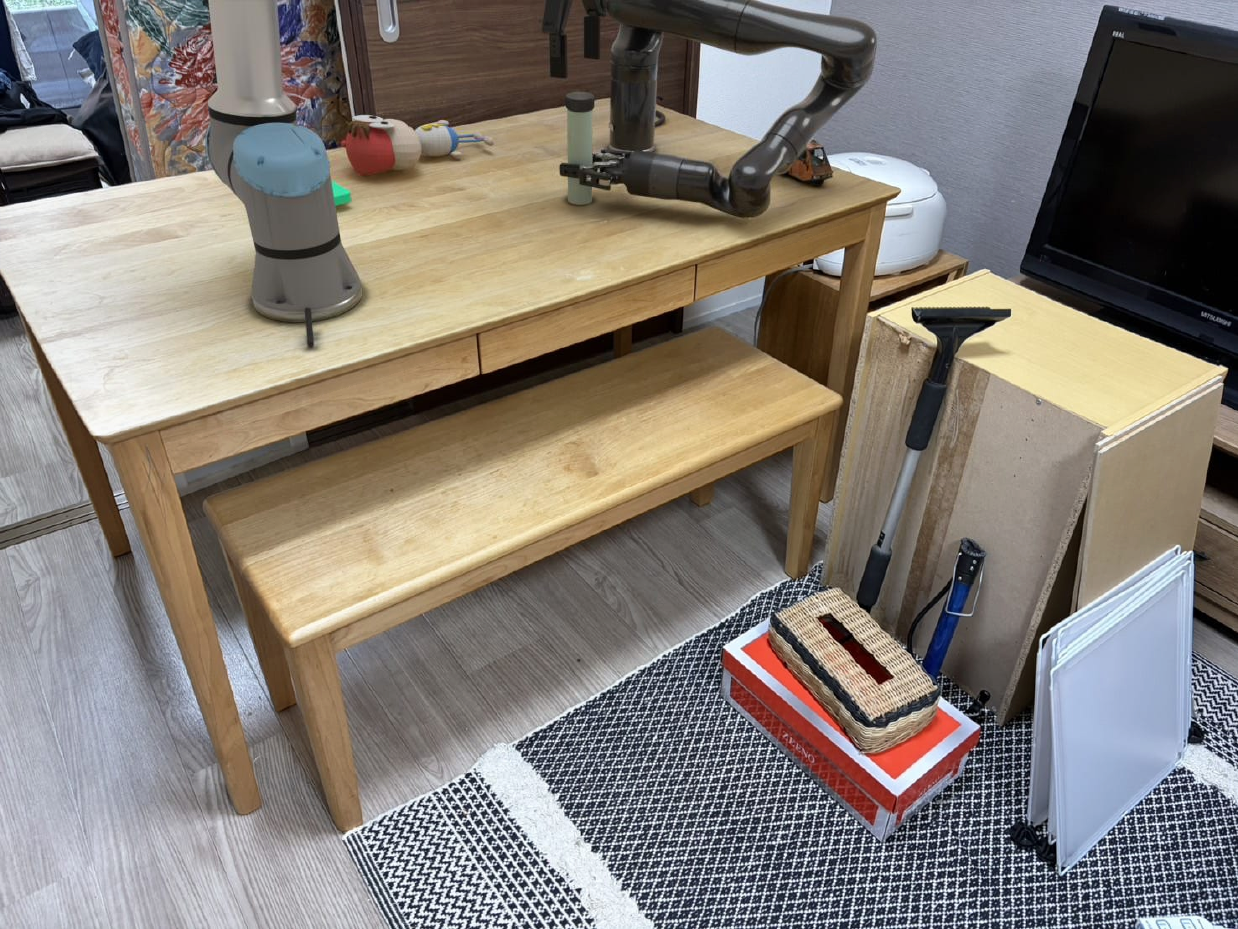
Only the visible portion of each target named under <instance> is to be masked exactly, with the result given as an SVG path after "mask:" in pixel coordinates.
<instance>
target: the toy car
mask: <svg viewBox="0 0 1238 929" xmlns="http://www.w3.org/2000/svg"><path fill="white" fill-rule="evenodd" d="M818 150H821V151H822V158H821V157H819V154H817V155H816V153H815V152H816V151H818ZM828 158H829V157H828V156H827V153H826V151H825V146H823V145H822V144H820V143H818V142H817V140H815V139H814V138H813V139H812V141H811V142H810V143H809V145H808V146H807V147H806V149H805V150H804V151H803V153H802V154H801V155H800V157H799V158H798V159H797V161H796V162H795V163H794V165H793V166H792V167H791V168H790V169H789V170H788V171H787V172H785V173H783V174H782V175H785V176H786V175H787V176H788V177H793V178H794V179H797V180H799V181H801V182H804V183H812V182H815V183H814V184H815V185H816V186H819V187H822V186H823V185H824V184H825V181H826V180H829V179H832V178H833V177H834V176H833V174H834V171H833V169H832V166H831V163H830V161H829V159H828Z"/></svg>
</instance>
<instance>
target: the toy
mask: <svg viewBox="0 0 1238 929" xmlns="http://www.w3.org/2000/svg"><path fill="white" fill-rule="evenodd" d="M352 119H353V120H352V121H350V122H349V123H348V125H347V134H346V138H345V139H344V140H342V141H341V142H340V145H341V147H342V148H344V149H345V152H346V156H347V158H348V161H349V163H350V164H351V167H352V168H353V170H354V172H355V173H356V174H357V175H360V176H371V175H376V174H377V175H378V174H381V173H384V172H387V171H390V170H392V171H404V170H409V169H411V168H413V167H414V166H415V165H416V164H417V163H418V162H419V160H420V158H421V155H425V156H428V157H429V156H430V157H443V156H446V155H449V154H450V156H451V157H453V158H459V157H462V155H463V153H462V152H461V151H458V150H456V149H457V148H458V147H459V143H462V144H464V143H465V144H467V143H468V144H469V143H478V142H483V144H485V145H487V146H489V147H492V146H494V144H495V141H494V139H493V138H492V137H490V136H484V135H483V134H482V133H481V132H479V131H475V132H473V133H471V134H459V135H458V133H457V132H456V130H454V129H453V128H451V127H450V126H449V125H450V123H449V121H448V120H445V119H440V120H438V121H436V122H431V123H426V124H423V125H420V126H418V127H417V128H416V129H414V128H412V127H411V126H410V123H407V122H406V121H402V120H399V119H397V118H385V119H384V118H382V117H380V116H378V115H377V116H376V115H370V114H360V115H355V116H353V117H352ZM465 138H473V139H465Z"/></svg>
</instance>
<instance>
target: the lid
mask: <svg viewBox="0 0 1238 929" xmlns="http://www.w3.org/2000/svg"><path fill="white" fill-rule="evenodd" d="M595 101H596V100H595V95H594V94H593V93H590V92H588V91H587V92H586V91H573V92H569V93H566V95H565V108H566V110H567V109H568V110H571V111H578V112H584V111H590V110H592V109H593V110H594V109H595Z"/></svg>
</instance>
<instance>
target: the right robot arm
mask: <svg viewBox="0 0 1238 929" xmlns="http://www.w3.org/2000/svg"><path fill="white" fill-rule="evenodd" d="M606 13H607V14H608V15H609V16H610V18H611V19H613V21H615V22H616V23H617V24H619V30H618V33H617V36H616V38H615V39H614V41H613V43H612V46H611V50H610V51H611V52H610V97H609V98H610V99H609V101H610V102H609V122H608V129H609V141H608V149H604V148H603V149H600V151H595V152H592V165H577V164H570V163H568V162H561V163H560V164H559V175H560V177H565V178H568V177H571V178H578V179H579V184H580V185H584V186H589V187H592V189H593V188H594V189H599V190H603V191H610V190H611V189H612V187H611V186H616V185H624V186H625V189H626V192H627V193H628V194H629V195H632V196H638V197H645V198H651V199H658V200H665V201H667V200H668V201H682V202H690V203H696V204H703V205H705V206H707V207H709V208H712V209H713V210H716V211H719V212H721V213H723V214H726V215H729V216H732V217H735V218H740V219H752V218H758V217H760V216H762V215H764V214H765V213H766V212H767V210H768V209H769V207H770V205H771V200H772V199H771V198H772V195H771V193H772V192H771V191H772V190H771V189H772V188H771V184H772V183H771V182H772V180H773V178H774V176H775V175H784V174H783V173H785V172H787V171H788V170H789V169H790V168H791V167H792V166H793V165H794V163H795V162H796V161H797V159H798V158H799V157H800V155H801V154H802V153H803V151H804V150H805V149H806V147H807V146H808V145H809V143H810V142H811V141H812V139H813V140H814V139H815V137H816V136H817V134H818V133H819V132H820V131H821V129H822V128H824V126H825V125H826V124H827V123H828V122H829V121H830V120H831V118H832V117H833V116H835V115H836V114H837V112H838V111H840V109H841V108H843V107H844V106H845V105H846V104H847V103H848V102H849V101H850V100H851V99H852V98H853V97H855V95H856V94H857V93H859V92H860V91H861V89H863V88H864V87H865V85H866V84H868V82H869V80H870V79H871V77H872V74H873V70H874V66H875V59H876V52H877V45H878V36H877V33H876V31H875V30H874V28H873V27H872V26H871V25H870V24H868V23H866V22H864V21H862V20H859V19H856V18H851V17H846V16H839V15H831V14H824V13H815V12H808V11H803V10H798V9H793V8H789V7H784V6H779V5H774V4H771V3H766V2H763V1H760V0H606ZM664 33H666V34H671V35H675V36H678V37H680V38H683V39H686V40H689V41H692V42H695V43H699V44H702V45H706V46H710V47H713V48H715V49H719V50H722V51H726V52H730V53H734V54H737V55H741V56H747V57H753V56H758V55H763V54H767V53H771V52H773V51H777V50H781V49H785V48H796V49H801V50H805V51H810V52H814V53H816V54H819V55H821V58H820V61H821V62H820V73H819V75H818V77H817V80H816V82H815V83H814V85H813V87H812V89H811V91H810V92H809V93H808V94H807V95H806V97H804V99H803V100H801V101H799V102H798V103H796V104H794V105H792V106H790V107H788V108H787V109H786V110H784V112H782V113H781V114H780V115H779V116H778V117H777V118H776V120H775V121H774V122H773V124H772V125H771V126H770V127H769V129H768V130H767V132H765V134H764V135H763V136H762V138H761V139H760V141H759V142H758V143H756V144H754V145H753V146H752V147H751V148H749V149H748V150H747V151H746V152H744V153H743V154H742V155H741V156H740V157H739V158H737V159H736V161H735V163H734V164H733V165H732V167H731V169H730V170H729V174H728V177H726V176H725V175H722V174H721V172H720V170H719V169H718V168H717V166H716V165H715V163H714V162H711V161H707V160H703V159H702V160H701V159H693V158H687V157H681V156H678V155H674V154H669V153H662V152H654V151H655V133H656V128H657V127H658V126H660V125H662V123H664V121H666V115H665V114H664V113H663V112H661V111H660V110H657V99H658V100H659V101H664V97H663V95H661V94H658V93H657V92H658V91H657V89H658V70H659V69H658V68H659V67H658V66H659V65H658V64H659V54H660V50H661V47H662V45H663V40H664ZM656 116H658V117H659V118H660V119H659V120H657V121H656ZM591 170H592V171H591ZM586 175H589V176H586ZM590 181H591V182H590Z"/></svg>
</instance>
